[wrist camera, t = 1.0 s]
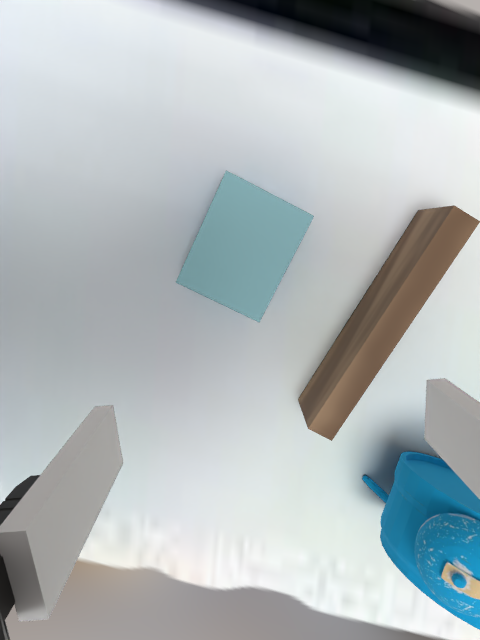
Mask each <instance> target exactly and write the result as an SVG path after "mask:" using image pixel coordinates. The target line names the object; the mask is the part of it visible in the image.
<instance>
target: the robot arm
mask: <svg viewBox="0 0 480 640" xmlns="http://www.w3.org/2000/svg"><path fill="white" fill-rule="evenodd" d="M424 439H425V440H426V441H427V443H428V444H429V445H430V446H431V447H432V448H433V449H434V450H435V451H436V452H437V454H438V455H439V456H440V457H441V458H442V459H443V460H444V461H445V462H446V463H447V464H448V466H449V467H450V468H451V469H452V470H453V471H454V472H455V473H456V474H457V475H458V476H459V478H460V479H461V480H462V481H463V482H464V483H465V484H466V485H467V486H468V487H469V488H470V490H471V491H472V492H473V493H474V494H475V495H476V496H477V497H478V498H479V499H480V402H478V401H477V400H475V399H474V398H472V397H471V396H470V395H468V394H467V393H465V392H464V391H462V390H461V389H460V388H458V387H457V386H455V385H454V384H452V383H451V382H450V381H448V380H447V379H445V378H444V379H432V380H427V386H426V409H425V432H424ZM122 464H123V459H122V454H121V448H120V442H119V437H118V431H117V425H116V419H115V414H114V408H113V405H108V406H96V407H94V408H93V409H92V411H91V412H90V413H89V414H88V416H87V417H86V418H85V419H84V421H83V422H82V423H81V425H80V426H79V427H78V428H77V430H76V431H75V432H74V433H73V435H72V436H71V437H70V438H69V440H68V441H67V442H66V443H65V445H64V446H63V447H62V448H61V450H60V451H59V452H58V454H57V455H56V456H55V457H54V459H53V460H52V461H51V462H50V464H49V465H48V466H47V467H46V469H45V470H44V471H43V472H42V474H41V475H36V476H30V477H29V478H27V479H26V480H24V481H23V482H22V483H20V484H19V485H18V486H16V487H15V488H14V489H13V491H12V492H11V493H10V494H9V495H8V496H7V498H6V499H5V501H3V502H2V504H1V505H0V640H10V637H9V633H8V630H7V626H6V623H5V619H6V617H7V615H8V614H9V612H10V610H11V608H12V607H13V605H14V604H15V608H16V612H17V615H18V619H19V621H31V620H44V619H49V617H50V615H51V613H52V611H53V609H54V607H55V605H56V603H57V601H58V598H59V596H60V594H61V592H62V590H63V588H64V586H65V584H66V582H67V579H68V578H69V575H70V573H71V571H72V569H73V567H74V565H75V563H76V561H77V559H78V557H79V554H80V552H81V550H82V548H83V546H84V544H85V542H86V540H87V538H88V536H89V534H90V531H91V529H92V527H93V525H94V523H95V521H96V519H97V517H98V515H99V513H100V510H101V508H102V506H103V504H104V502H105V500H106V498H107V496H108V494H109V492H110V490H111V487H112V485H113V483H114V481H115V479H116V477H117V475H118V473H119V471H120V469H121V466H122Z"/></svg>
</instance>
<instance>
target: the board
mask: <svg viewBox="0 0 480 640" xmlns="http://www.w3.org/2000/svg"><path fill="white" fill-rule="evenodd" d="M479 222H480V221H478V220H477V219H475V218H474V217H472V216H470V215H469V214H467V213H465V212H464V211H462V210H461V209H459V208H457V207H456V206H447V207H440V208H432V209H424V210H418V212H417V213H416V215H415V216H414V218H413V219H412V221H411V223H410V224H409V226H408V227H407V229H406V230H405V232H404V234H403V235H402V237H401V238H400V240H399V241H398V243H397V245H396V246H395V248H394V249H393V251H392V252H391V254H390V256H389V257H388V259H387V260H386V262H385V264H384V265H383V267H382V268H381V270H380V271H379V273H378V275H377V276H376V278H375V279H374V281H373V282H372V284H371V286H370V287H369V289H368V290H367V292H366V293H365V295H364V297H363V298H362V300H361V301H360V303H359V304H358V306H357V308H356V309H355V311H354V312H353V314H352V315H351V317H350V319H349V320H348V322H347V323H346V325H345V326H344V328H343V330H342V331H341V333H340V334H339V336H338V337H337V339H336V341H335V342H334V344H333V345H332V347H331V348H330V350H329V352H328V353H327V355H326V356H325V358H324V359H323V361H322V363H321V364H320V366H319V367H318V369H317V370H316V372H315V374H314V375H313V377H312V378H311V380H310V381H309V383H308V385H307V386H306V388H305V389H304V391H303V392H302V394H301V396H300V397H299V399H298V401H299V404H300V407H301V409H302V412H303V415H304V418H305V421H306V424H307V427H308V429H310V430H312V431H314V432H316V433H318V434H320V435H322V436H324V437H325V438H327V439H329V440H331V441H332V439H333V438H334V436H335V435H336V434H337V432H338V431H339V429H340V428H341V426H342V425H343V423H344V422H345V420H346V419H347V417H348V416H349V414H350V413H351V411H352V410H353V408H354V407H355V405H356V404H357V403H358V401H359V400H360V398H361V397H362V395H363V394H364V392H365V391H366V389H367V388H368V386H369V385H370V383H371V382H372V380H373V379H374V377H375V376H376V374H377V373H378V372H379V370H380V369H381V367H382V366H383V364H384V363H385V361H386V360H387V358H388V357H389V355H390V354H391V352H392V351H393V349H394V348H395V346H396V345H397V343H398V342H399V341H400V339H401V338H402V336H403V335H404V333H405V332H406V330H407V329H408V327H409V326H410V324H411V323H412V321H413V320H414V318H415V317H416V315H417V314H418V312H419V311H420V310H421V308H422V307H423V305H424V304H425V302H426V301H427V299H428V298H429V296H430V295H431V293H432V292H433V290H434V289H435V287H436V286H437V284H438V283H439V281H440V280H441V278H442V277H443V276H444V274H445V273H446V271H447V270H448V268H449V267H450V265H451V264H452V262H453V261H454V259H455V258H456V256H457V255H458V253H459V252H460V250H461V249H462V247H463V246H464V245H465V243H466V242H467V240H468V239H469V237H470V236H471V234H472V233H473V231H474V230H475V228H476V227H477V225H478V224H479Z"/></svg>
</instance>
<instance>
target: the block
mask: <svg viewBox="0 0 480 640" xmlns="http://www.w3.org/2000/svg"><path fill="white" fill-rule="evenodd" d="M313 217H314V216H313V215H311V214H309V213H307V212H305V211H303V210H301V209H299V208H297V207H296V206H294V205H292V204H290V203H288V202H286V201H284V200H282V199H280V198H278V197H276V196H274V195H272V194H270V193H269V192H267V191H265V190H263V189H261V188H259V187H257V186H255V185H253V184H251V183H249V182H247V181H245V180H244V179H242V178H240V177H238V176H236V175H234V174H232V173H230V172H228V171H226V172H225V174H224V177H223V179H222V181H221V183H220V186H219V188H218V190H217V192H216V194H215V197H214V199H213V201H212V203H211V205H210V208H209V210H208V212H207V214H206V217H205V219H204V221H203V223H202V225H201V228H200V230H199V232H198V234H197V236H196V239H195V241H194V243H193V245H192V248H191V250H190V252H189V254H188V256H187V259H186V261H185V263H184V265H183V267H182V270H181V272H180V274H179V276H178V279H177V281H176V283H178V284H180V285H182V286H184V287H186V288H188V289H191V290H193V291H195V292H197V293H199V294H201V295H203V296H205V297H207V298H209V299H211V300H213V301H216V302H218V303H220V304H222V305H224V306H226V307H228V308H230V309H232V310H234V311H236V312H238V313H241V314H243V315H245V316H247V317H249V318H251V319H253V320H255V321H257V322H260V320H261V318H262V316H263V314H264V312H265V310H266V308H267V306H268V305H269V303H270V301H271V299H272V297H273V295H274V293H275V291H276V289H277V287H278V285H279V283H280V281H281V279H282V277H283V275H284V274H285V272H286V270H287V268H288V266H289V264H290V262H291V260H292V258H293V256H294V254H295V252H296V250H297V248H298V246H299V244H300V243H301V241H302V239H303V237H304V235H305V233H306V231H307V229H308V227H309V225H310V223H311V221H312V219H313Z"/></svg>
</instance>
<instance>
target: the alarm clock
mask: <svg viewBox="0 0 480 640" xmlns="http://www.w3.org/2000/svg"><path fill="white" fill-rule="evenodd" d="M394 477H395V480H394V483H393V486H392V489H391V491H390V494H389V495H388V494H387V493H386V492H385V491H384V490H383V489H382V488H380V487H379V486H378V485H377V484H376V483H375V482H374V481H373V480H371V479H370V478H369V477H367V476H366V475H364V476H363V478H362V479H363V481H364V482H365V483H366V484H367V485H368V487H369V488H370V489H372V490H373V491H374V492H375V493H376V494H377V495H378V496H379V497H380V498H381V499H382V500H383V501H384V502H385V503H386V505H385V508H384V510H383V513H382V516H381V527H382V530H381V535H380V538H381V542H382V546H383V547H384V549H385V551H386V553H387V555H388V556H389V557H390V559H391V560H392V561H393V563H394V564H395V565H396V567H397V568H398V569H399V570H400V571H401V572H402V573H403V574H404V575H405V576H406V577H407V578H408V579H409V580H410V581H411V582H412V583H413V584H414V585H415V586H416V587H418V588H419V589H420V590H421V591H422V592H423V593H425V594H426V595H427V596H428V597H430V598H431V599H432V600H433V601H435V602H436V603H437V604H439V605H440V606H442V607H443V608H445V609H446V610H447V611H449V612H450V613H452V614H453V615H455V616H456V617H458V618H460V619H462V620H463V621H465V622H467V623H468V624H470V625H472V626H474V627H475V628H478V629H480V499H479V498H478V497H477V496H476V495H475V494H474V493H473V492H472V491H471V490H470V488H469V487H468V486H467V485H466V484H465V483H464V482H463V481H462V480H461V479H460V478H459V476H458V475H457V474H456V473H455V472H454V471H453V470H452V469H451V468H450V467H449V466H448V464H447V463H446V462H445V461H444V460H443V459H440V458H437V457H433V456H430V455H427V454H422V453H418V452H410V451H408V452H403V453H402V454H401V456H400V458H399V461H398V464H397V466H396V469H395V474H394Z"/></svg>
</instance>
